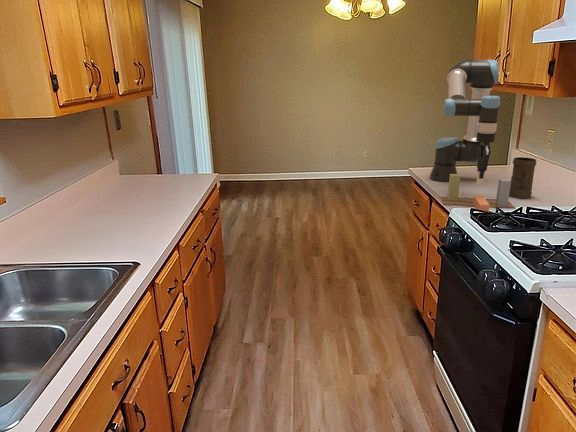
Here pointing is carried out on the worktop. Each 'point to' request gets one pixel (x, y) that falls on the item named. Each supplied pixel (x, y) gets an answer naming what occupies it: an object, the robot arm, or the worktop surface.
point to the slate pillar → (503, 192)
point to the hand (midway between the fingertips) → (479, 184)
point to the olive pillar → (453, 187)
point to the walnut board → (471, 203)
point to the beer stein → (522, 178)
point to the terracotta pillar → (481, 203)
